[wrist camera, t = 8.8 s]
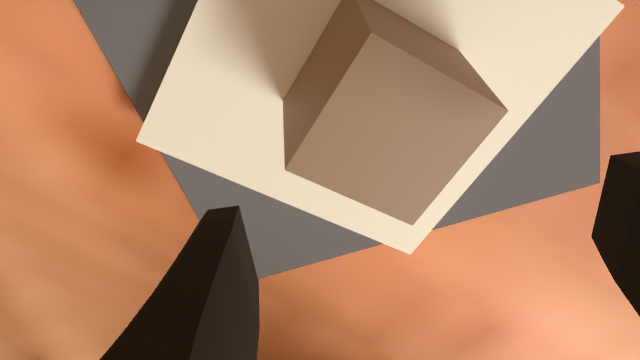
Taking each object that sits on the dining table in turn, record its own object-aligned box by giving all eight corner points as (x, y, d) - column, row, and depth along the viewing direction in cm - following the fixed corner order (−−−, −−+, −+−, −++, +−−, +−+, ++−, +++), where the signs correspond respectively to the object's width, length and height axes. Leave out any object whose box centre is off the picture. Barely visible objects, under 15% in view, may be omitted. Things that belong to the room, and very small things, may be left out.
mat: (591, 174, 21) (599, 182, 20) (238, 274, 22) (237, 284, 22) (586, -322, 12) (598, -327, 12) (24, -103, 14) (15, -101, 14)
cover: (610, -2, 16) (718, 55, 12) (406, 241, 21) (436, 337, 17) (299, -229, 13) (310, -254, 9) (140, 129, 18) (102, 218, 14)
